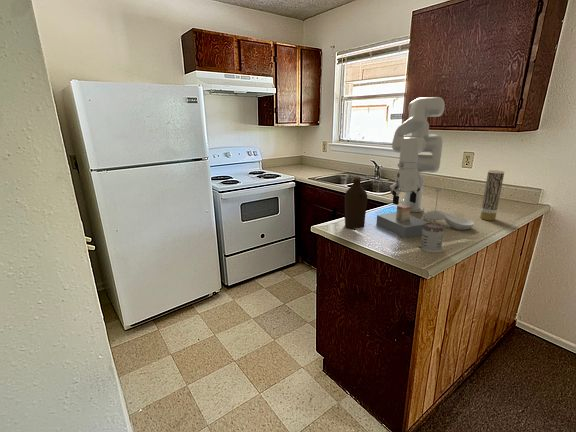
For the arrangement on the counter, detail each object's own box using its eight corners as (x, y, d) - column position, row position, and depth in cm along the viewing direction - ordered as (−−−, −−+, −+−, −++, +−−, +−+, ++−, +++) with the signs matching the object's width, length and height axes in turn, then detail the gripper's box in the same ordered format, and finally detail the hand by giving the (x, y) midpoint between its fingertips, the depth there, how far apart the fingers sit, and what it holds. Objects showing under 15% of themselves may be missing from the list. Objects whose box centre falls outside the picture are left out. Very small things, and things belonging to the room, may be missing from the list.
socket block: (376, 226, 154) (377, 215, 152) (399, 222, 158) (400, 211, 157) (404, 240, 136) (405, 227, 134) (429, 235, 140) (430, 223, 139)
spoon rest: (473, 226, 152) (475, 212, 150) (473, 234, 143) (476, 219, 140) (421, 219, 163) (423, 206, 161) (418, 226, 154) (420, 212, 151)
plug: (395, 228, 148) (397, 205, 145) (402, 226, 149) (404, 204, 146) (401, 230, 144) (403, 208, 141) (408, 229, 146) (410, 207, 142)
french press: (418, 250, 125) (425, 190, 118) (417, 240, 135) (424, 184, 128) (445, 253, 122) (454, 191, 114) (442, 243, 132) (450, 185, 125)
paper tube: (482, 216, 167) (490, 169, 159) (496, 218, 162) (505, 171, 155) (478, 219, 162) (486, 171, 155) (493, 221, 158) (502, 172, 150)
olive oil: (369, 226, 154) (373, 176, 146) (357, 232, 147) (360, 179, 139) (351, 222, 161) (354, 174, 154) (339, 226, 154) (341, 177, 147)
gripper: (397, 167, 131) (394, 206, 136) (429, 165, 137) (424, 203, 142) (386, 165, 138) (383, 203, 143) (417, 164, 144) (413, 199, 149)
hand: (404, 203), depth 143 cm, fingers open, 9 cm apart
